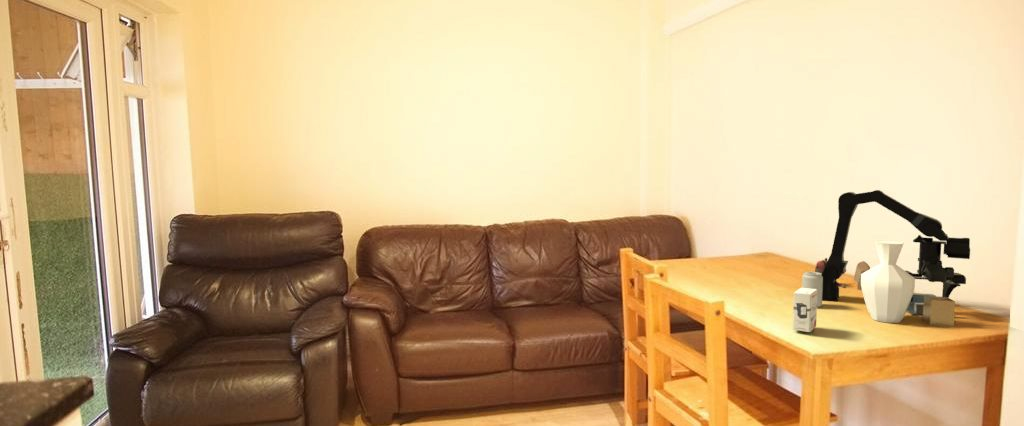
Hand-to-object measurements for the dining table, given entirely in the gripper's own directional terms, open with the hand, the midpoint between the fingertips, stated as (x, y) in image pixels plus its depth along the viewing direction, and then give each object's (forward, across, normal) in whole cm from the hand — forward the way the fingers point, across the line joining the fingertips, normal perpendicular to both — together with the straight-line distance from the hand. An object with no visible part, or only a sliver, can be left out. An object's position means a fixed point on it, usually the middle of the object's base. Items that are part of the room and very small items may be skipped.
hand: (927, 302), depth 184 cm
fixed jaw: (+3, 0, -5) cm, 6 cm away
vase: (+4, -16, -14) cm, 21 cm away
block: (+4, -2, -15) cm, 15 cm away
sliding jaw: (+3, 0, +8) cm, 9 cm away
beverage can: (+4, -35, -2) cm, 35 cm away
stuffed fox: (+4, -22, +32) cm, 40 cm away
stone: (+4, -10, +37) cm, 38 cm away
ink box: (+4, -42, -32) cm, 53 cm away
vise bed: (+3, 0, +2) cm, 4 cm away
